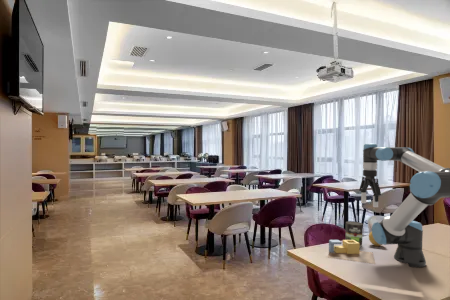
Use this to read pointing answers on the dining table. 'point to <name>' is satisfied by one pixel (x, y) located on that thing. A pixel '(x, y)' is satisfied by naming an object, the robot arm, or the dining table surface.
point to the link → (348, 247)
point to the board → (354, 257)
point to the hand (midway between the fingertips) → (369, 205)
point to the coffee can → (354, 231)
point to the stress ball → (373, 240)
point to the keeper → (331, 245)
